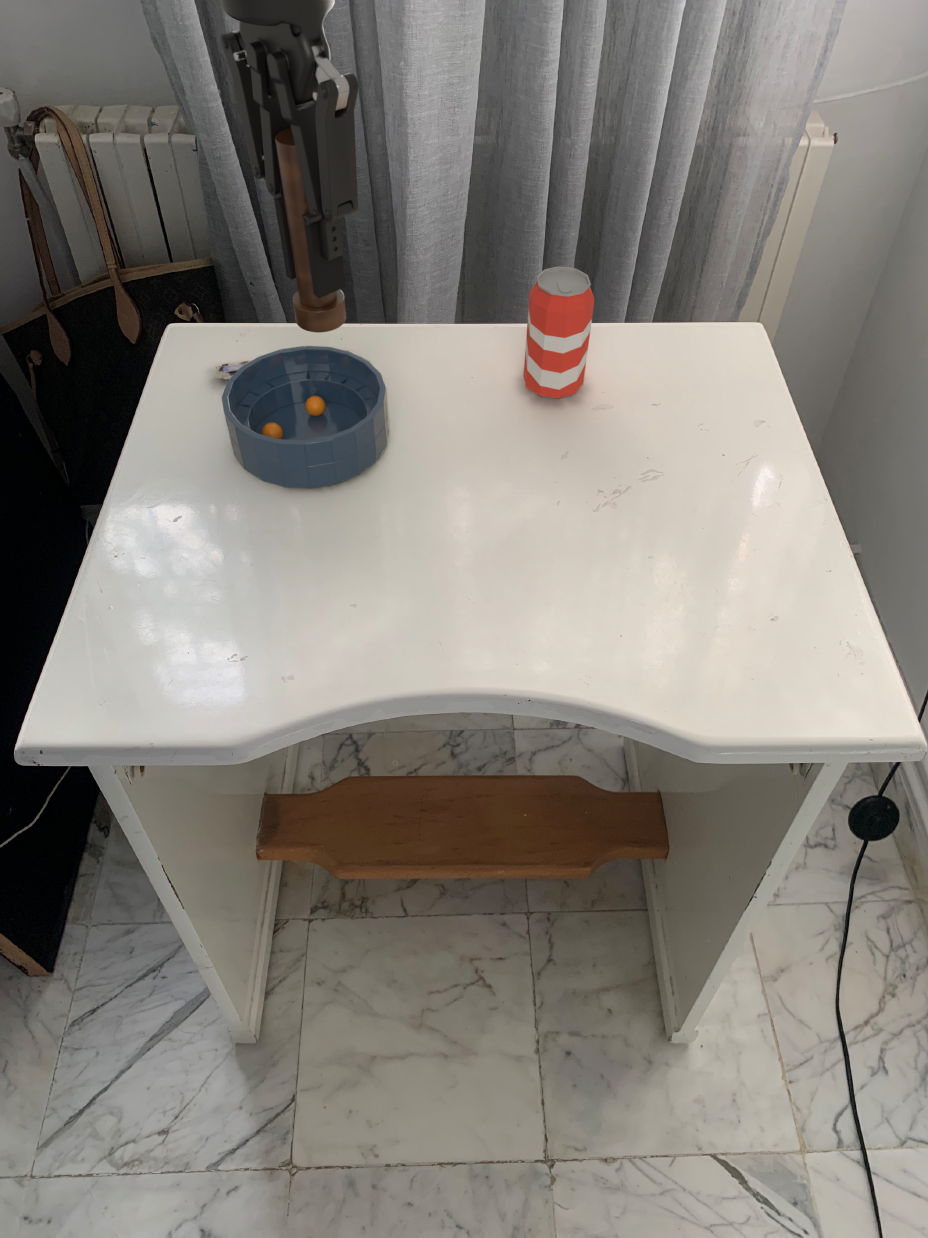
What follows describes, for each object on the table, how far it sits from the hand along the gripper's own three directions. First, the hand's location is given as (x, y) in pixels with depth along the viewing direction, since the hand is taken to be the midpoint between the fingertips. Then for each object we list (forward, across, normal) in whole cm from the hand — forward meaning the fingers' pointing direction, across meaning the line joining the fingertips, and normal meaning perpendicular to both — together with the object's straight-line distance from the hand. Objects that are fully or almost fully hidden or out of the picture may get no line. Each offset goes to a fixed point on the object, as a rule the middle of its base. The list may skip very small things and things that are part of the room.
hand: (315, 280), depth 75 cm
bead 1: (+16, +4, +5) cm, 17 cm away
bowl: (+18, +2, +2) cm, 18 cm away
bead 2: (+16, +5, -1) cm, 16 cm away
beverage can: (+18, -7, -23) cm, 30 cm away
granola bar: (+18, +16, 0) cm, 24 cm away
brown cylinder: (+4, 0, 0) cm, 4 cm away
